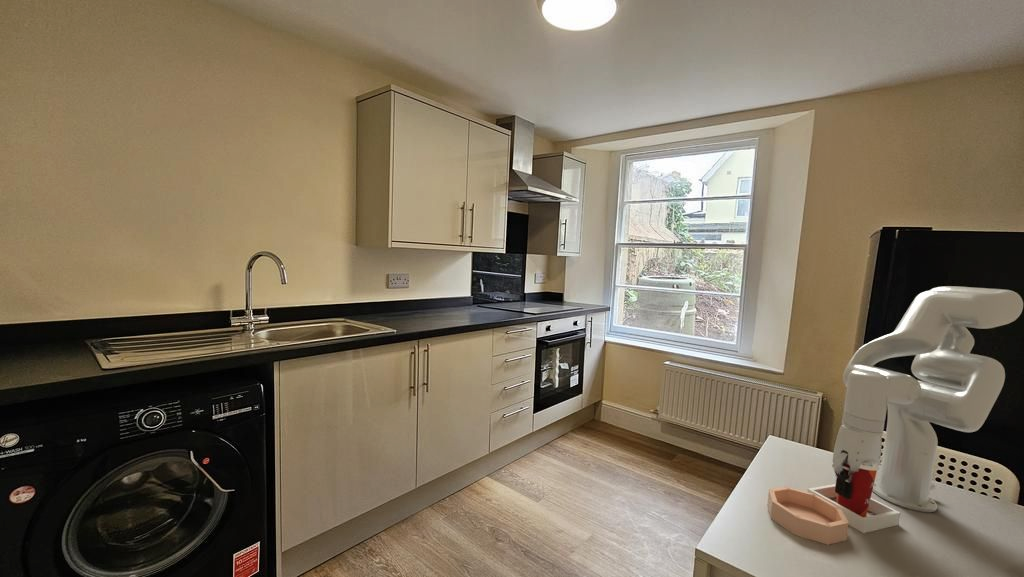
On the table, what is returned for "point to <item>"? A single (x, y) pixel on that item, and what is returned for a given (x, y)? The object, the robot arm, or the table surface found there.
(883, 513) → the parts tray
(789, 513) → the dish
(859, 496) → the paper cup
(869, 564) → the table surface
